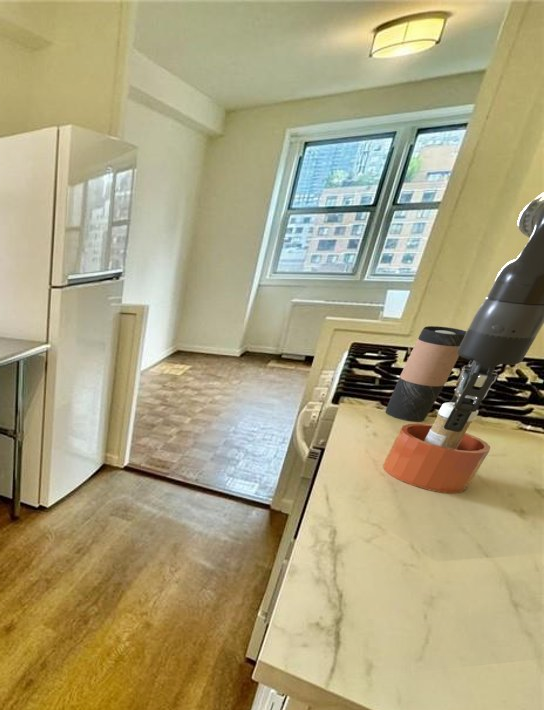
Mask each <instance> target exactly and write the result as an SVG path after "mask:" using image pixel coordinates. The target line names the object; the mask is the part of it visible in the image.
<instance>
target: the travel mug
mask: <svg viewBox="0 0 544 710" xmlns="http://www.w3.org/2000/svg"><path fill="white" fill-rule="evenodd" d="M466 332H467V330H463V329H459V328H455V327H447V326H438V325H437V326H434V325H430V326H429V325H428V326H425V327H423V328H422V330H421V331H420V334H419V336H418V338H417V339H416V342H415V344H414V346H413V348H412V350H411V352H410V354H409V356H408V359H407V361H406V362H405V364H404V367H403V369H402V371H401V373H400V375H399V377H398V380H397V382H396V385H395V387H394V390H393V392H392V394H391V396H390V398H389V401H388V404H387V406H386V409H385V413H386V415H389V416H390V417H392V418H396V419H399V420H403V421H409V422H423V421H425V420H426V418H427V417H428V415H429V414H430V411H431V410H432V409H433V406H434V404H435V403H436V401H437V399H438V397H440V396H439V395H440V394H441V392H442V391H443V389H444V386H445V385H446V383H447V381H448V379H449V377H450V375H451V373H452V371H453V369H454V367H455V365H456V363H457V361H458V359H459V357H460V356H459V355H458V354H457V350H458V348H459V346H460V344H461V342H462V340H463V338H464V336H465V334H466Z"/></svg>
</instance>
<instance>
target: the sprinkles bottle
mask: <svg viewBox="0 0 544 710" xmlns="http://www.w3.org/2000/svg"><path fill="white" fill-rule="evenodd" d="M453 404H454V403H452V402H451V401H449V402H444V403H442V405H441V406H440V408H439V410H438V412H437V416H436V418H435V420H434V422H433V424H432V425H433V426H432V428H431V429H430V431H429V433H428V435H427V436H426V438H425V440H424V442H427V443H430V444H433V445H437V446H441V447H445V448H450V449H455V450H456V449H457V447H458V446H459V444H460V442H461V440H462V438H463V436H464V434H465V433H467V430H468V428H469V427H470V425H471V424H472V423H473V421H475V419H476V418H477V416H478V415H479V409H478V410H476V412H472V413H471V415H470V417H469V418H468V420H467V422H466V424H465V426H464V427H463V429H462V431H460V432H455V431H450V430H446V429H444V425H445V423H446V421H447V419H448V417H449V415H450V413H451V411H452V410H453V407H454V406H453Z"/></svg>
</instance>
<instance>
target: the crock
mask: <svg viewBox="0 0 544 710" xmlns="http://www.w3.org/2000/svg"><path fill="white" fill-rule="evenodd" d="M432 426H433V424H430V423H408V424H404V425H402V426H401V428H400V430H399V431H398V433H397V435H396V438H395V440H394V442H393V444H392V446H391V448H390V450H389V452H388V454H387V455H386V458H385V460H384V462H383V465H382V468H383V469H384V471H385V472H386V473H387V474H388V475H390V476H391V477H393V478H395V479H396V480H398V479H399V480H398V481H401V480H402V481H401V482H403V481H405V482H406V483H405V482H404V483H405V484H408V483H409V484H408V485H410V484H411V485H410V486H413V485H414V486H413V487H416V486H419V487H422V488H421V489H423V488H426V489H425V490H427V489H430V490H429V491H431V490H435V491H434V492H436V491H439V492H438V493H444V492H446V493H445V494H458V493H462V492H464V491H466V490H467V488H469V486H470V484H471V482H472V481H473V480H474V477H475V476H476V474H477V473H478V471H479V469H480V467H481V466H482V464H483V462H484V461H485V459H486V458H487V456H488V454H489V453H490V450H491V445H490V444H488V442H486V441H484V440H483V439H481V438H480V437H477V436H475V435H473V434H470V433H467V432H465V434H464V436H463V438H462V440H461V442H460V444H459V446H458V447H457V449H456V450H455V449H450V448H445V447H441V446H437V445H433V444H430V443H427V442H424V440H425V438H426V436H427V435H428V433H429V431H430V429H431V428H432ZM419 487H418V488H419Z"/></svg>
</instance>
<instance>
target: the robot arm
mask: <svg viewBox="0 0 544 710" xmlns="http://www.w3.org/2000/svg"><path fill="white" fill-rule="evenodd" d="M517 227H518V230H519V231H520V233H521V234H522V235H524V236H525V237H527V238H529V240H528V242H527V243H526V245H525V246H524V247H523V249H522V251H521V252H520V254H519V255H518V256H517V258H516V259H513V260H510V261H508V262H507V263H506V264H505V265H504V266H503V267H502V268H501V270H500V271H499V272H498V274H497V276H496V278H495V280H494V282H493V284H492V286H491V288H490V290H489V292H488V294H487V296H486V297H485V299H484V301H483V302H482V304H481V305H480V307H479V308H478V310H477V311H476V312H475V314H474V316H473V318H472V320H471V323H470V324H469V326H468V328H467V330H466V331H467V332H466V334H465V336H464V338H463V340H462V342H461V344H460V346H459V348H458V350H457V354H458V355H459V357H461V358H463V359H466V360H469V361H468V364H467V365H463V367H462V368H461V371H460V373H459V377H458V378H457V381H456V383H455V386H456V388H455V389H454V395H453V397H452V398H451V400H450V402H452V403H454V404H453V406H454V407H453V410H452V411H451V413H450V415H449V417H448V419H447V421H446V423H445V425H444V429H446V430H450V431H455V432H460V431H462V429H463V427H464V426H465V424H466V422H467V420H468V418H469V417H470V415H471V413H472V412H476V410H478V411H479V409H480V405H481V403H482V401H483V400H484V399H485V398H486V397H487V396H488V392H489V390H490V388H491V387H492V385H493V384H494V383H495V382H496V380H497V378H498V375H499V374H498V370H497V369H496V367H497V366H499V365H505V366H513V365H518V364H521V363H522V362H523V360H524V358H525V357H526V356H527V353H528V352H529V350H530V348H531V346H532V345H533V343H534V341H535V339H536V338H537V336H538V334H539V333H540V331H541V329H542V327H543V325H544V192H542V193H541V194H539V195H538V196H536V197H535V198H533V199H532V200H531V202H529V203H528V204H527V205H526V206H525V207H524V208H523V210H522V211H521V212H520V214H519V217H518V220H517ZM495 369H496V370H495ZM472 400H473V402H471V401H472Z"/></svg>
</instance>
